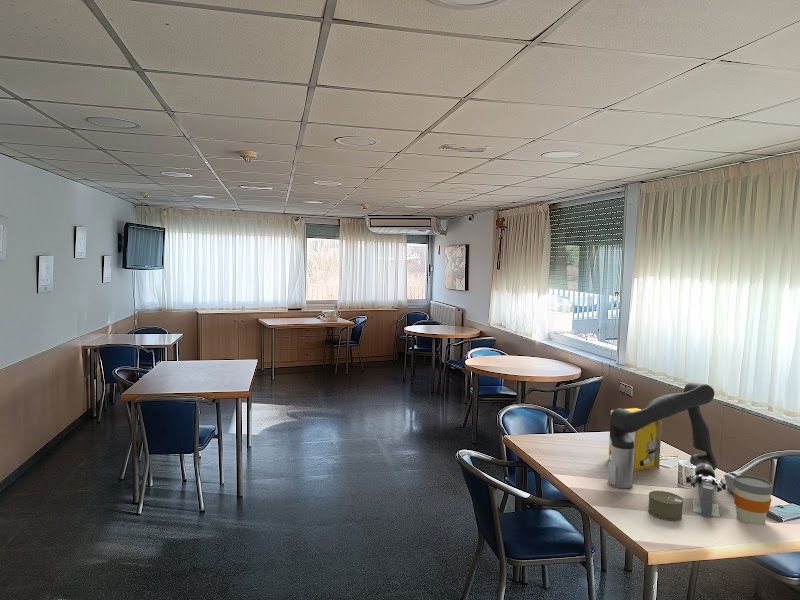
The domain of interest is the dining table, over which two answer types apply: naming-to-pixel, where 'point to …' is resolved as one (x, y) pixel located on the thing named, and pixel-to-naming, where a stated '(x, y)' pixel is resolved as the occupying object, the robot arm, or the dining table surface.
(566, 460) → the dining table surface
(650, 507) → the can
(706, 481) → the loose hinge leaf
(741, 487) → the reusable coffee cup
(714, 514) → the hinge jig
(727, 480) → the hinge
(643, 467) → the packaging box
